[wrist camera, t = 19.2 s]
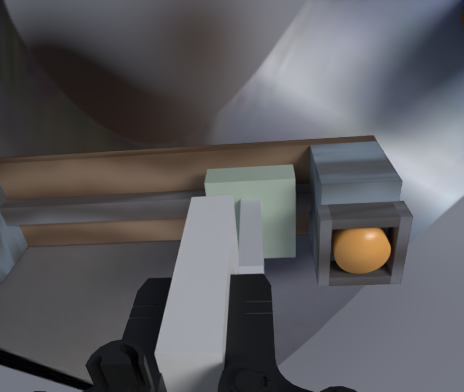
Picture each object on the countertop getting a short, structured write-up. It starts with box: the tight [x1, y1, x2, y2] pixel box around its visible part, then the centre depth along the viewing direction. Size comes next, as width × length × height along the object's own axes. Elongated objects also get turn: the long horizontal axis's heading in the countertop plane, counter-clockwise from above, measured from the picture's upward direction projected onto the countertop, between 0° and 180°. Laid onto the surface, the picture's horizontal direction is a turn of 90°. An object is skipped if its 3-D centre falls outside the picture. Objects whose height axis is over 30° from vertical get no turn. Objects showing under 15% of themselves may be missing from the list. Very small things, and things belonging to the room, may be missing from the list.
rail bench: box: [0, 136, 413, 286], centre depth 44 cm, size 12×50×12 cm, turn 95°
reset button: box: [331, 227, 391, 274], centre depth 38 cm, size 5×5×2 cm
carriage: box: [204, 164, 296, 274], centre depth 40 cm, size 10×9×15 cm
